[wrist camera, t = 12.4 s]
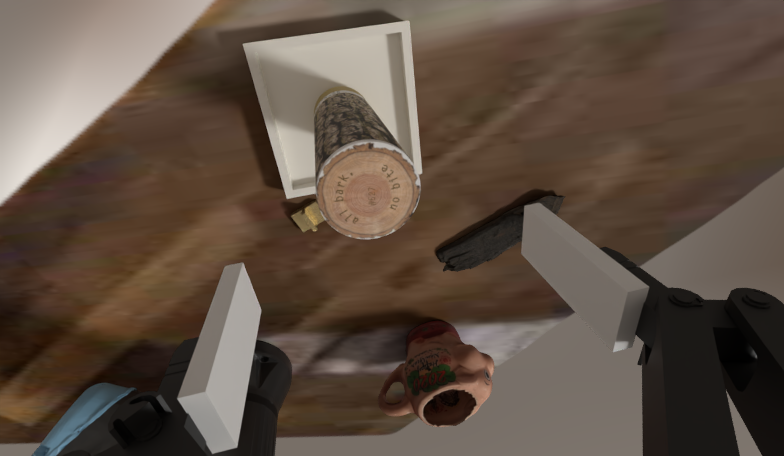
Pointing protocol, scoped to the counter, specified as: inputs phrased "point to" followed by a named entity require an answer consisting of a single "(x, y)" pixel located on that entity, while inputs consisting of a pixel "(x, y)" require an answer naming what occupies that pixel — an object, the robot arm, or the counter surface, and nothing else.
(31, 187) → the counter surface
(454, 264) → the wood
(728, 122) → the counter surface
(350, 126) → the paper tube
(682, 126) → the counter surface
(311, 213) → the tan short block
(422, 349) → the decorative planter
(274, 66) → the ceramic dish
